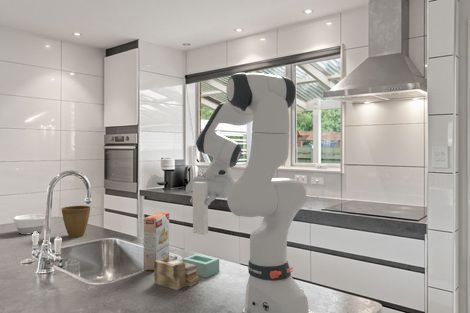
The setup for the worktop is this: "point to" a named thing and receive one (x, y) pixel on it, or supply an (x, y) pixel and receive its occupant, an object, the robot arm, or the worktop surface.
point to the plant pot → (76, 219)
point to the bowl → (30, 223)
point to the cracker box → (156, 239)
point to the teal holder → (203, 264)
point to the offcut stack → (189, 272)
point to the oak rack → (169, 274)
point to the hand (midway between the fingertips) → (199, 203)
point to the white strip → (200, 208)
